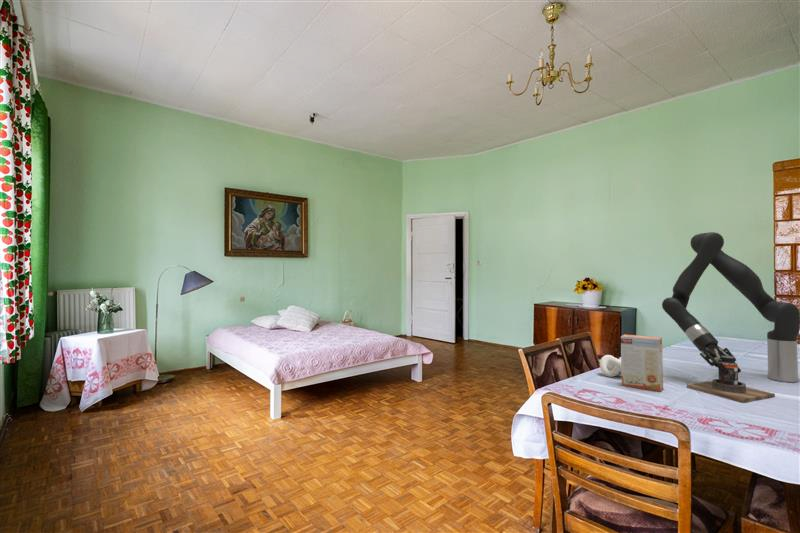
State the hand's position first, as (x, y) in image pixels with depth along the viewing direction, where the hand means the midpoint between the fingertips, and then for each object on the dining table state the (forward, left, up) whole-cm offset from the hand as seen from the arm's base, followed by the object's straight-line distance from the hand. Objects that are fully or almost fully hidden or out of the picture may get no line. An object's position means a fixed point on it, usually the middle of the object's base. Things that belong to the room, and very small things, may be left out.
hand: (733, 373), depth 154 cm
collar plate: (0, -2, -8) cm, 8 cm away
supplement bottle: (0, -2, -6) cm, 6 cm away
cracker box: (+25, -19, -8) cm, 32 cm away
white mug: (+21, -35, -8) cm, 41 cm away
